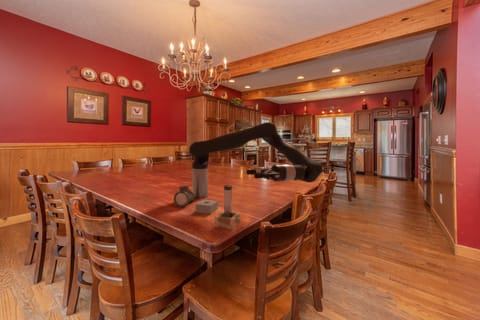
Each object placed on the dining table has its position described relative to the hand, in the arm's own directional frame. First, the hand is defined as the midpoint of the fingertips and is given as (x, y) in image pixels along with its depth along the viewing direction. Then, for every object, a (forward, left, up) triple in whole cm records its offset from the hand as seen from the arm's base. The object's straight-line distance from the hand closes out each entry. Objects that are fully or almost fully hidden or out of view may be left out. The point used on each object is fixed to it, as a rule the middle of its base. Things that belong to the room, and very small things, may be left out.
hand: (250, 173), depth 91 cm
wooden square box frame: (+9, -7, -20) cm, 23 cm away
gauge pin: (+9, -7, -20) cm, 23 cm away
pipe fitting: (-9, -39, -20) cm, 45 cm away
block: (-3, -23, -20) cm, 31 cm away
